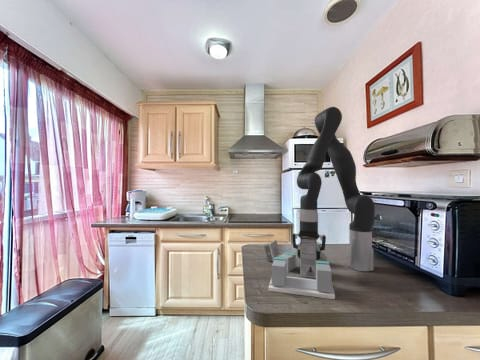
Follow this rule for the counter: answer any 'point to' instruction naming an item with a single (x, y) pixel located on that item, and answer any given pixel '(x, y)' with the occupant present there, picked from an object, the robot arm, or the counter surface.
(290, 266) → the block
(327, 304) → the counter surface
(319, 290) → the grey u-shaped holder
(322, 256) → the air freshener
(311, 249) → the coffee box
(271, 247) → the electrical switch
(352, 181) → the robot arm
